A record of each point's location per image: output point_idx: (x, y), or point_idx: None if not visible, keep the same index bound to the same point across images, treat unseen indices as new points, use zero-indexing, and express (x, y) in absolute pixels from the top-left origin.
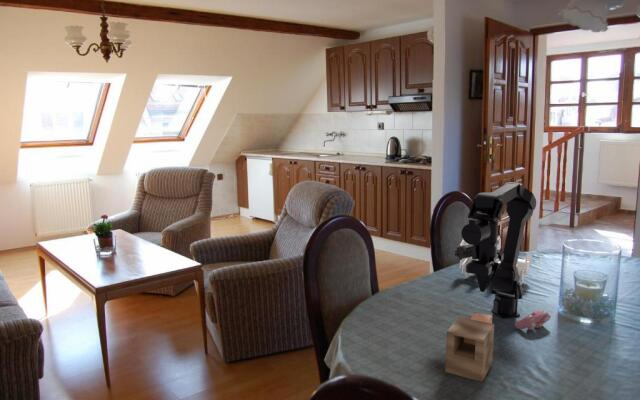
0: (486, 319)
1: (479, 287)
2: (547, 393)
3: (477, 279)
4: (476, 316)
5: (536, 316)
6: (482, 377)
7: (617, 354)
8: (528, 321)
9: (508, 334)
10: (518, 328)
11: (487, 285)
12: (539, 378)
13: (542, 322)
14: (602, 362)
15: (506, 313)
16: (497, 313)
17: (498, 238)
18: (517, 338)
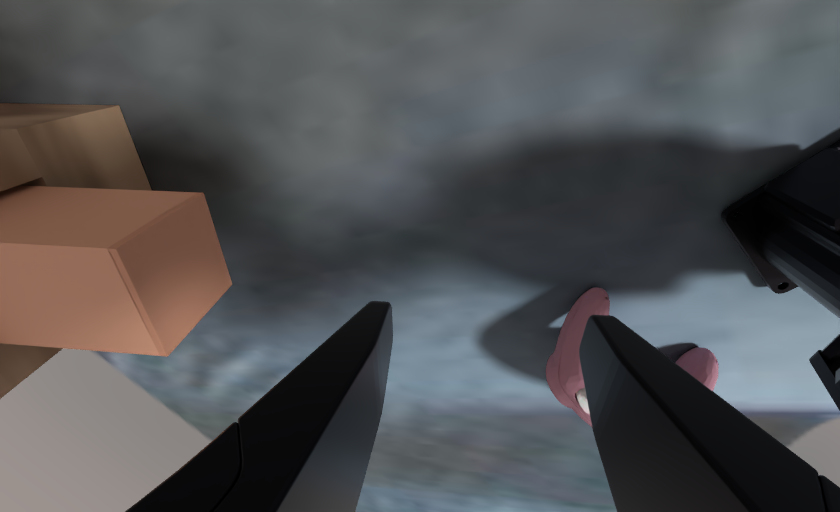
0: (78, 334)
1: (335, 335)
2: (154, 394)
3: (182, 468)
4: (52, 272)
5: (586, 422)
6: None
7: (492, 508)
8: (554, 378)
9: (497, 268)
10: (576, 302)
11: (586, 375)
12: (212, 378)
13: None
14: (421, 483)
15: (762, 239)
16: (767, 186)
17: None
18: (470, 304)
